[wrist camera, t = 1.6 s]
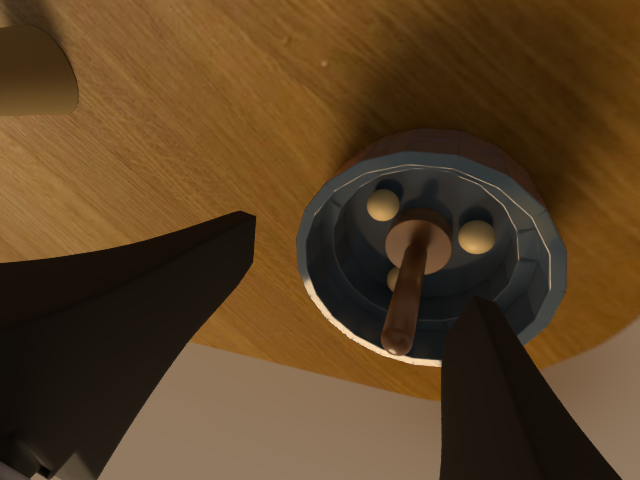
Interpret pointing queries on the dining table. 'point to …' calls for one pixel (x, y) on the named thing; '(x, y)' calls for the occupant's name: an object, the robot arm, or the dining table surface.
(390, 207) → the chickpea
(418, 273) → the wooden pestle
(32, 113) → the brown game pawn
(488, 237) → the chickpea
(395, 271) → the chickpea
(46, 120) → the dining table surface
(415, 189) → the bowl
